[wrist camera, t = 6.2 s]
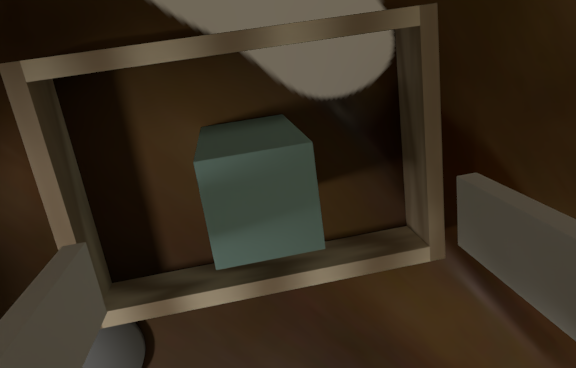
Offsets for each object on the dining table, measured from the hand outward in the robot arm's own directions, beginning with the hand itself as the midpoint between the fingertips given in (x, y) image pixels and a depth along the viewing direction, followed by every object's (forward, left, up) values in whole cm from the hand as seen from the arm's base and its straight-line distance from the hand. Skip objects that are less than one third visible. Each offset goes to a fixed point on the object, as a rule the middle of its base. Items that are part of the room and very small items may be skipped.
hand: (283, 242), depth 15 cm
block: (0, 0, -13) cm, 13 cm away
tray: (0, 0, -13) cm, 13 cm away
